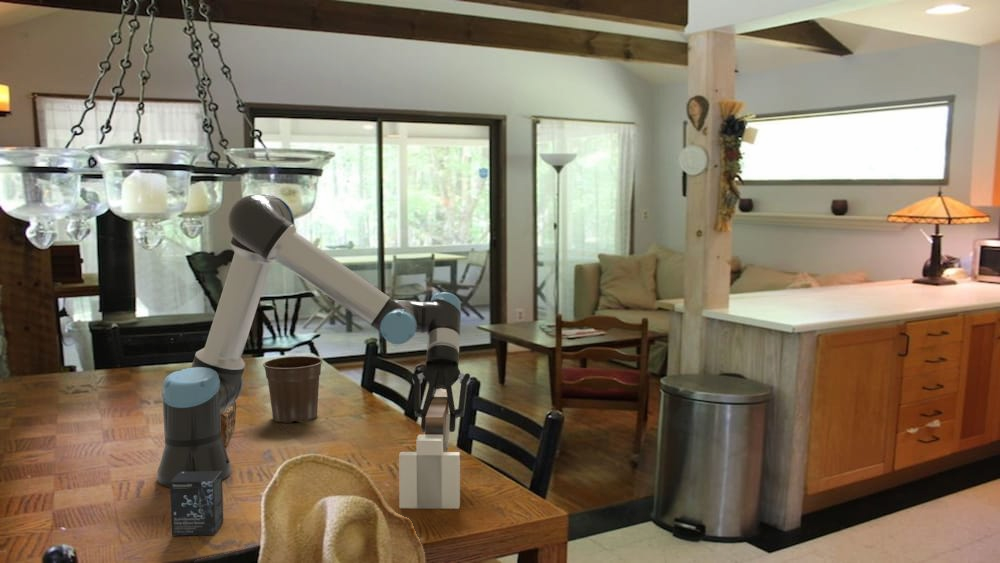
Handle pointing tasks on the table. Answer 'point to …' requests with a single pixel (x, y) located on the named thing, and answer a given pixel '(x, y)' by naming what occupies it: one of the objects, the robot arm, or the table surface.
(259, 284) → the robot arm
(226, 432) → the bread
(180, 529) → the box
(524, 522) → the table surface
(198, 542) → the table surface
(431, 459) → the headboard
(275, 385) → the plant pot
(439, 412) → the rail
